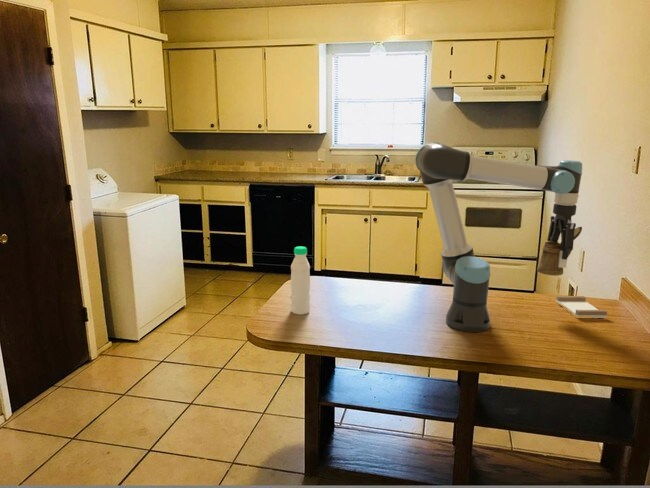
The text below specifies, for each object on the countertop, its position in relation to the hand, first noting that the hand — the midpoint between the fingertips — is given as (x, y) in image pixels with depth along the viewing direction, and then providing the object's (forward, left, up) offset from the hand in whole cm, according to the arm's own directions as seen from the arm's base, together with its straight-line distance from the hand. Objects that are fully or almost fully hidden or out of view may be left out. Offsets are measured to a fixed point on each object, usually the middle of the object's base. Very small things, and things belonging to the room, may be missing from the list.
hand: (556, 264), depth 184 cm
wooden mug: (0, 0, -3) cm, 3 cm away
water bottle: (-96, -1, -19) cm, 98 cm away
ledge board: (+12, 0, -19) cm, 22 cm away
